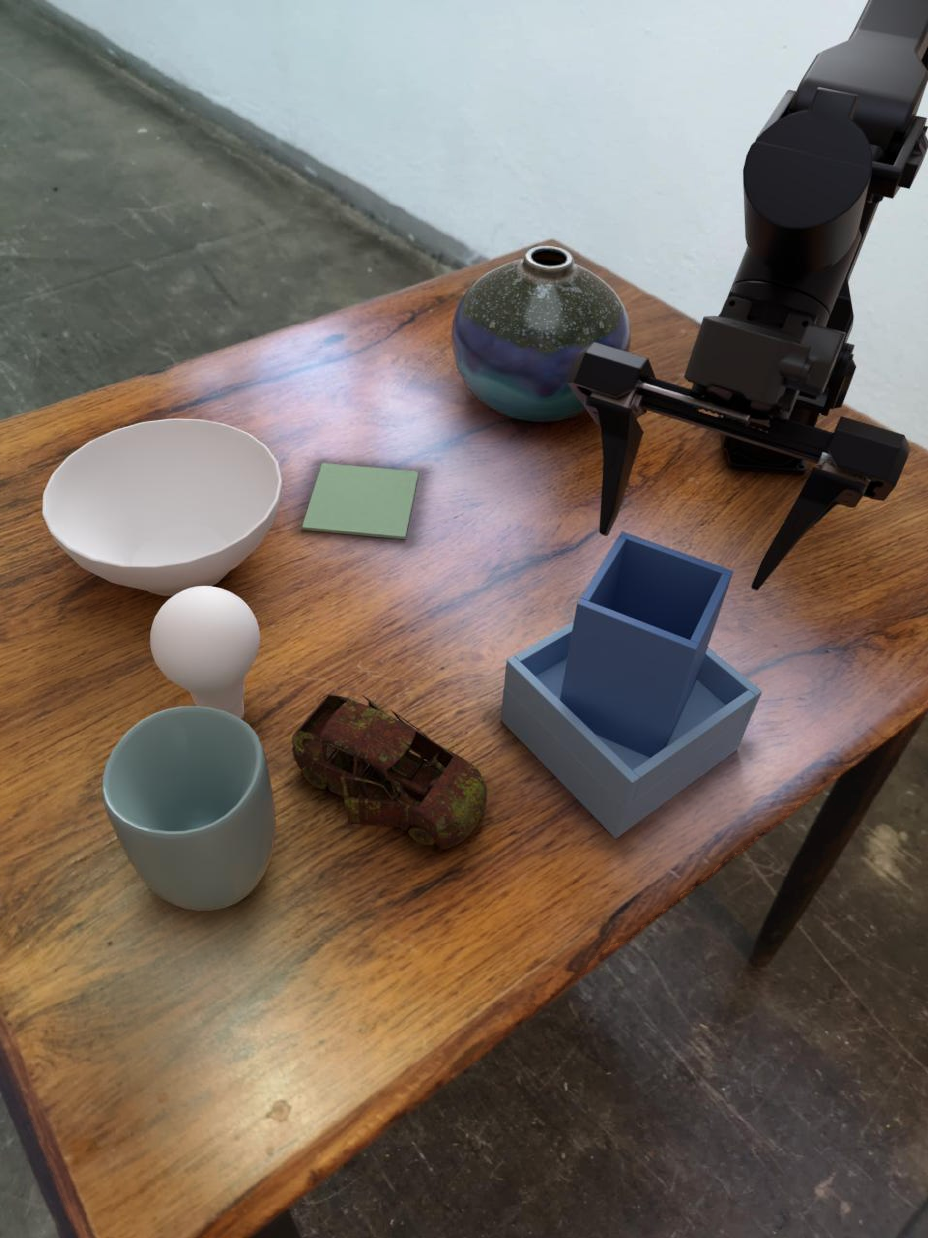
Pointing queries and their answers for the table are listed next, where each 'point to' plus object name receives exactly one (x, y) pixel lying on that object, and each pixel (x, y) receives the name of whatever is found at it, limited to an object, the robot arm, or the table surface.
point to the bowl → (164, 503)
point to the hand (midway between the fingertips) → (676, 561)
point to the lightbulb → (207, 645)
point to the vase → (534, 333)
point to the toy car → (389, 772)
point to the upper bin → (641, 641)
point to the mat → (361, 501)
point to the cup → (192, 805)
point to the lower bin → (605, 770)
